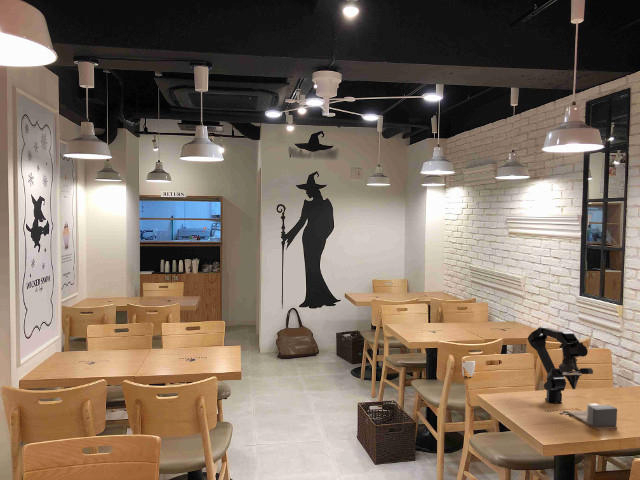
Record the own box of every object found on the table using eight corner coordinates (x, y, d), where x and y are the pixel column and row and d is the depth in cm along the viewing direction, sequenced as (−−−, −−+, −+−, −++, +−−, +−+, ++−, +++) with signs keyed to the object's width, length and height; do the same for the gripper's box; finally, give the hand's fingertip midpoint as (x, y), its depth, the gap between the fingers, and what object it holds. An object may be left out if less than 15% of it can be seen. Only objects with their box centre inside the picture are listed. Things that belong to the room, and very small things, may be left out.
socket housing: (587, 422, 236) (588, 405, 236) (608, 421, 238) (608, 404, 238) (595, 427, 231) (596, 409, 231) (616, 425, 234) (617, 408, 233)
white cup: (475, 375, 312) (476, 359, 311) (473, 378, 305) (474, 362, 304) (462, 373, 315) (463, 357, 315) (460, 376, 308) (460, 360, 308)
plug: (586, 418, 241) (587, 403, 241) (595, 417, 242) (596, 403, 242) (596, 423, 235) (597, 408, 235) (605, 423, 236) (606, 408, 236)
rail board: (567, 413, 250) (567, 411, 250) (584, 412, 253) (584, 410, 253) (598, 430, 230) (598, 428, 230) (617, 429, 233) (617, 426, 233)
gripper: (543, 357, 259) (547, 389, 255) (581, 356, 245) (586, 390, 241) (554, 357, 266) (558, 388, 262) (591, 356, 252) (596, 389, 248)
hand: (573, 389), depth 253 cm, fingers closed
